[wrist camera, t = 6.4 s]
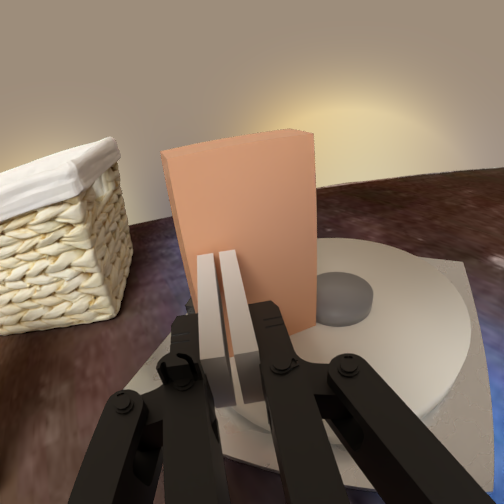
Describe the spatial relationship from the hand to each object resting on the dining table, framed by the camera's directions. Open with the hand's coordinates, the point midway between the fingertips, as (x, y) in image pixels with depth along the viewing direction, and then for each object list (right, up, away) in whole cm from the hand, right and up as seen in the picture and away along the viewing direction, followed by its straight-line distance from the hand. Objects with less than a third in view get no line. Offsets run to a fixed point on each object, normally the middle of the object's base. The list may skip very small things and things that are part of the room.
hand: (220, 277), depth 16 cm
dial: (+8, -5, +8) cm, 12 cm away
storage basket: (-22, -4, +16) cm, 28 cm away
